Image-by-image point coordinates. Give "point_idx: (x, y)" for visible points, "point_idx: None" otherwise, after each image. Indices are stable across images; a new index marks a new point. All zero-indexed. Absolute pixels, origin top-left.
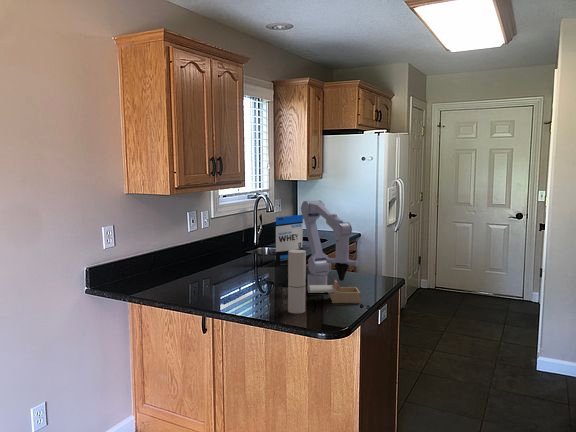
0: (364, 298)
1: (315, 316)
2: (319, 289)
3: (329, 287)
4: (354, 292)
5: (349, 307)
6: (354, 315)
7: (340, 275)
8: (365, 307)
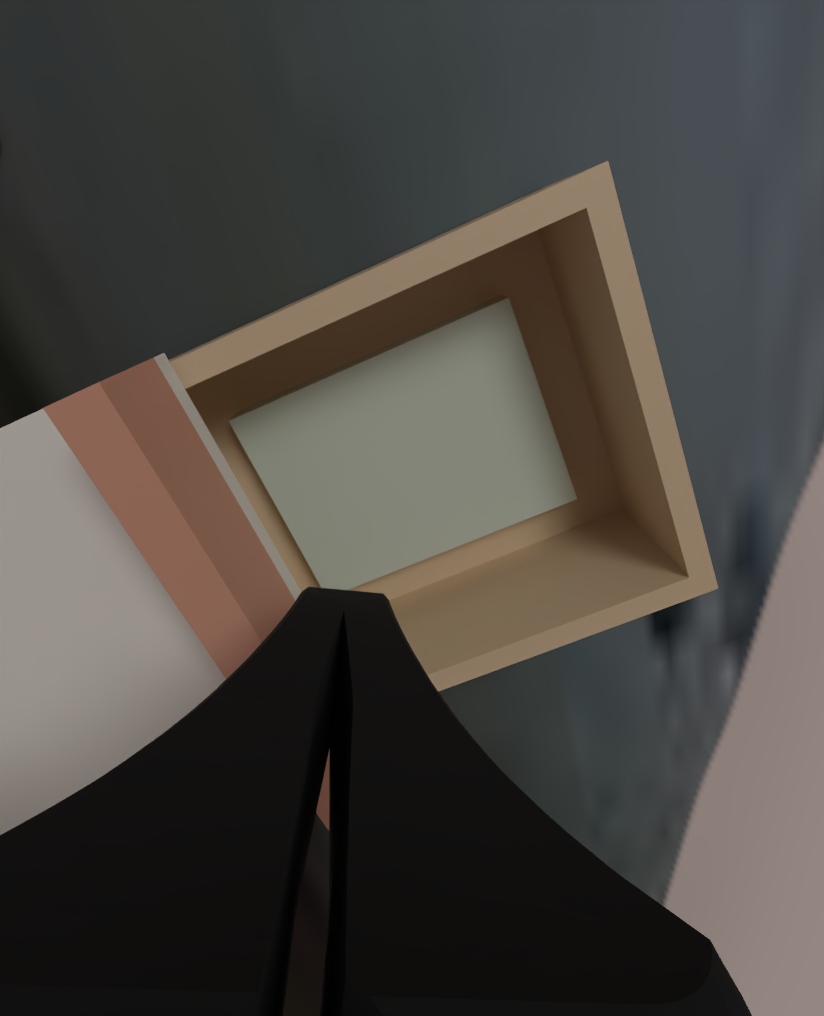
0: (683, 162)
1: (305, 992)
2: (36, 785)
3: (121, 609)
4: (618, 609)
5: (533, 683)
6: (623, 872)
7: (314, 812)
8: (716, 616)
